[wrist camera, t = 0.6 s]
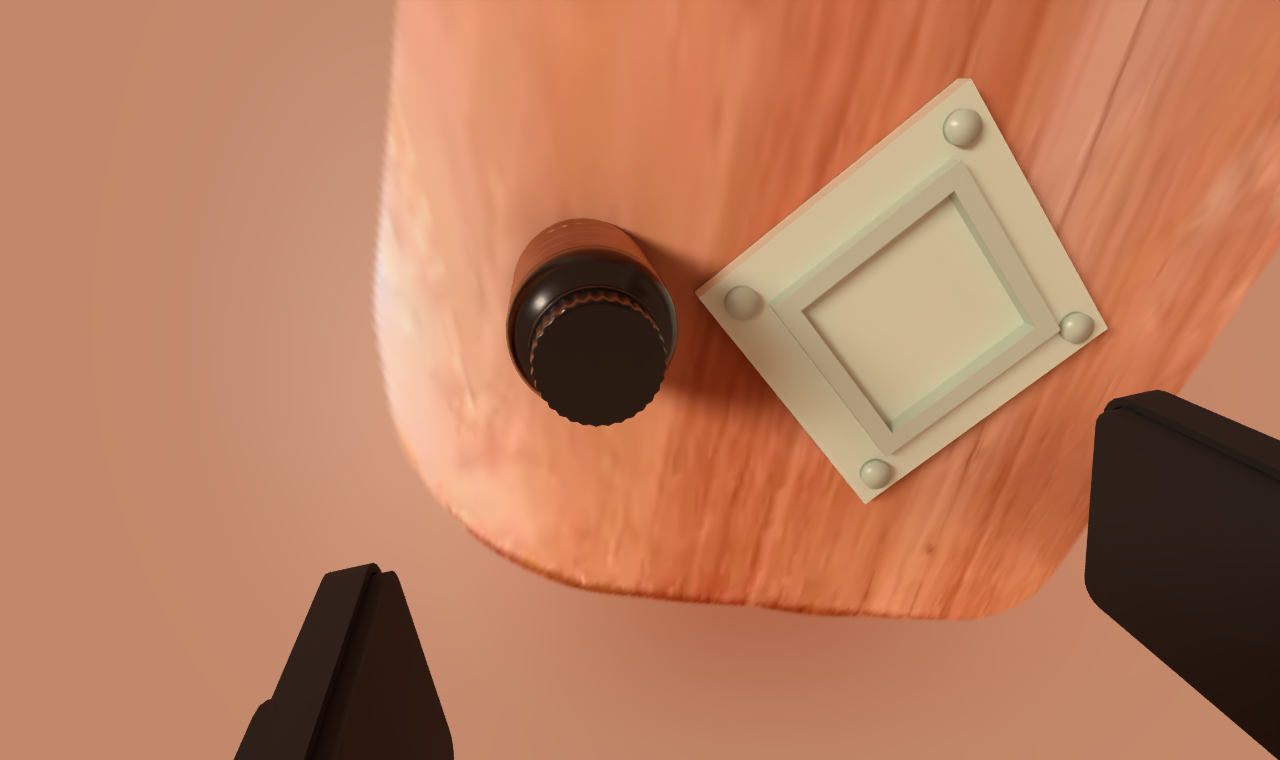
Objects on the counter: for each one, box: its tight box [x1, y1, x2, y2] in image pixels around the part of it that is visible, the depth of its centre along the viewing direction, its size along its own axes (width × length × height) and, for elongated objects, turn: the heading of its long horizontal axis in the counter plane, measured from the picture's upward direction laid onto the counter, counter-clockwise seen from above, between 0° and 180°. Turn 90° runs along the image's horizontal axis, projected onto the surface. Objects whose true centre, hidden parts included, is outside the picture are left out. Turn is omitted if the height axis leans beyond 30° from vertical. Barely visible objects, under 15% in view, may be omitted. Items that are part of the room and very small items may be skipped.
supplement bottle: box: [506, 218, 678, 427], centre depth 31 cm, size 7×7×12 cm
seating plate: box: [694, 78, 1108, 504], centre depth 38 cm, size 16×16×2 cm
